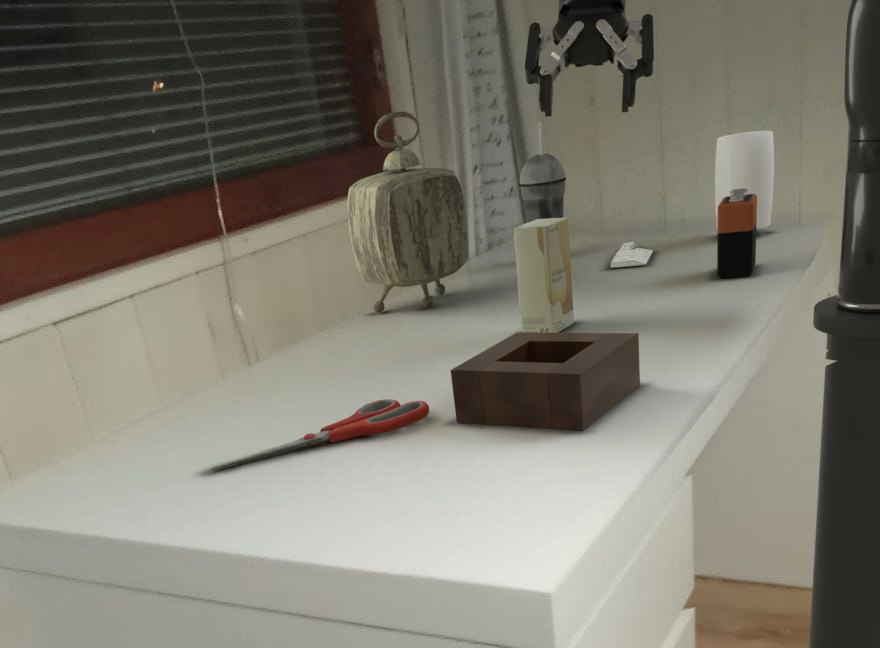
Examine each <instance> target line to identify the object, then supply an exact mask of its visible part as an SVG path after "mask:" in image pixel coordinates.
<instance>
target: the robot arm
mask: <svg viewBox="0 0 880 648" xmlns="http://www.w3.org/2000/svg"><path fill="white" fill-rule="evenodd" d="M626 1H627V0H558V13H557V21H556V23H555V24H554V26H553V27H541V25H540V23H539V22H536V21H535V22H532V23H531V24H530V25H529V27H528V35H527V43H526V44H527V45H526V52H525V60H524V73H525V82H526V83H527V84H528V85H534V84H537V85H539V91H538V104H539V105H538V106H539V110H540V112H541V113H543V112H544V117H552V115H553V102H554V101H553V99H554V83H556V81H557V80H558V79H559V77H562V76H564V74H566V72H567V71H568V70H569V69H570V67H572V65H574V67H575V68H583V67H586V66H595V67H600V66H604V64H605V63H608V65H609V66H610V67H611V68H612V69H613V71H614V72H615V73H619V74H620V76H621V77H622V97H621V113H629V108H632V107H634V105H635V103H636V87H637V86H636V85H637V81H638V79H641V77H645V78H649V77H651V76H653V73H654V62H655V44H654V40H655V39H654V37H655V36H654V16H653V15H652V14H651V13H646V14H643V16H642V17H641V19H640V20H633V21H628V19H627V17H626V3H627V2H626ZM845 34H846V35H845V52H844V53H845V54H844V55H845V57H844V58H845V59H844V89H843V91H844V92H843V94H844V95H843V96H844V97H843V100H844V101H843V102H844V110H845V115H846V118H847V122H848V123H847V127H848V130H847V146H846V147H847V150H846V151H847V152H846V165H845V179H844V180H845V182H844V197H843V211H842V212H843V213H842V226H841V227H842V228H841V243H840V257H839V274H838V286H837V295H838V296H837V307H838V308H839V309H841V310H844V311H848V312H853V313H865V314H880V0H851V1H850V5H849V10H848V15H847V22H846V31H845ZM629 36H632V37H633V39H634V42H635V43H637V45H641V46H640V47H641V57H640V58H638V59H635V57H633V56H632V54H631V53H630V52H629V50H628V48H627V46H626V44H625V43H624V42H625V41H626V40H627V39H628V37H629ZM550 42H553V44H554V46H555V47H554V48H553V50H552V51H551V55H550V57H548V58H547V60H546V61H545V62H544V63H543V65H541V66H540V64H539V63H540V56H541V52H544V51H545V49H546V48H547V46H548V44H550Z"/></svg>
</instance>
